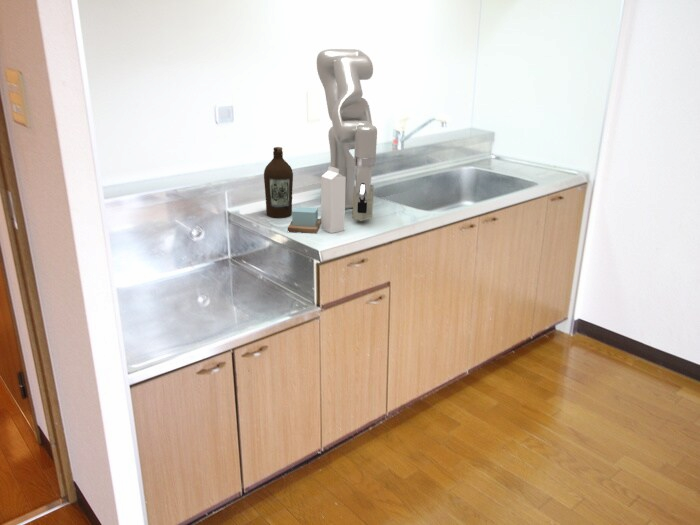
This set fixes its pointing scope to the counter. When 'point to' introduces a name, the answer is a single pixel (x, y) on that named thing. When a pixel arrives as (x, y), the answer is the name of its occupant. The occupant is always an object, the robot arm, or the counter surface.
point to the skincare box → (369, 205)
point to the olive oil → (278, 186)
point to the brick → (304, 216)
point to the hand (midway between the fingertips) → (362, 209)
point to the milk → (333, 201)
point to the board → (304, 228)
